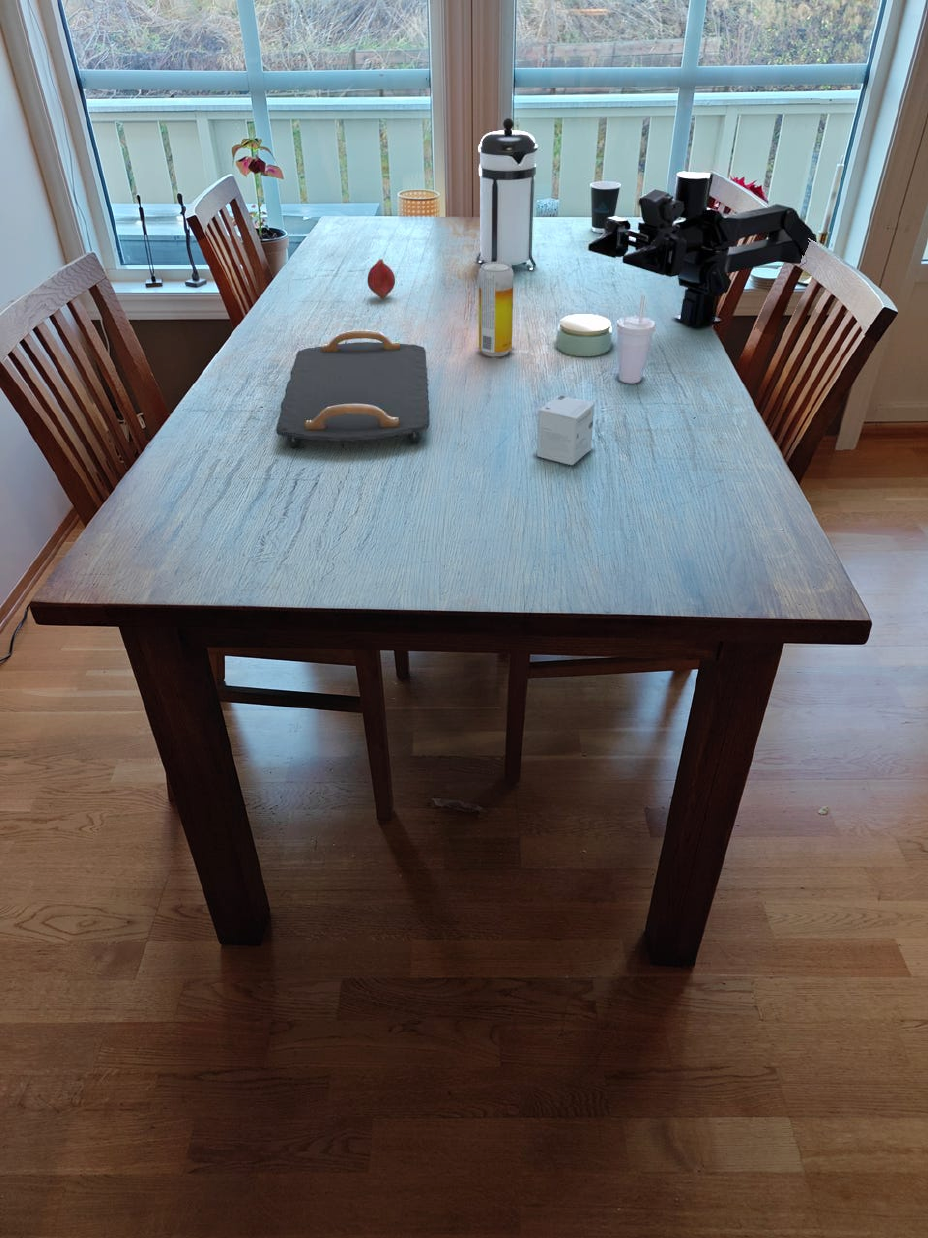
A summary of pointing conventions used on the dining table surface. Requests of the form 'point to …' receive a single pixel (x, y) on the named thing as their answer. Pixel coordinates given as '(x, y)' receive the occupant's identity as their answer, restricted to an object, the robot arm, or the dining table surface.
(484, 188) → the coffee press
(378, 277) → the onion
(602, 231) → the dixie cup
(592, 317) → the jar
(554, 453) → the product carton
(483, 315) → the beer can
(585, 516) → the dining table surface
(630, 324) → the smoothie
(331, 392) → the serving tray
